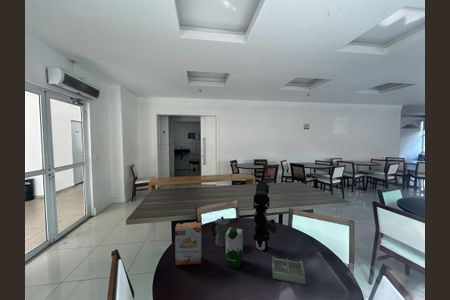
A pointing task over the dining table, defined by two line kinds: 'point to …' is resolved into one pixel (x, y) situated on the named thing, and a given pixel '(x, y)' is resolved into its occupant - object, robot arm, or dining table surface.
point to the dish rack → (288, 270)
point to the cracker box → (188, 243)
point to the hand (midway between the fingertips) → (260, 244)
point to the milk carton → (234, 247)
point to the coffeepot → (221, 231)
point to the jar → (260, 247)
